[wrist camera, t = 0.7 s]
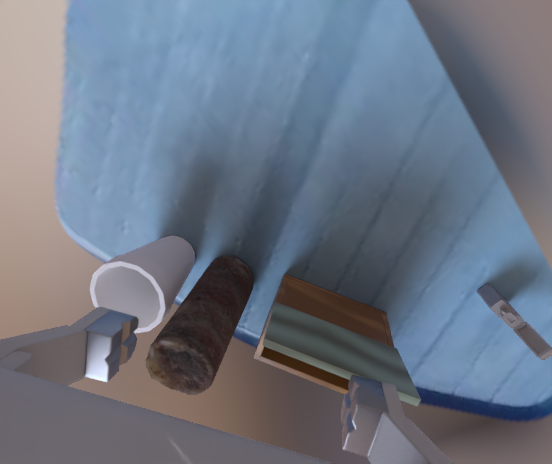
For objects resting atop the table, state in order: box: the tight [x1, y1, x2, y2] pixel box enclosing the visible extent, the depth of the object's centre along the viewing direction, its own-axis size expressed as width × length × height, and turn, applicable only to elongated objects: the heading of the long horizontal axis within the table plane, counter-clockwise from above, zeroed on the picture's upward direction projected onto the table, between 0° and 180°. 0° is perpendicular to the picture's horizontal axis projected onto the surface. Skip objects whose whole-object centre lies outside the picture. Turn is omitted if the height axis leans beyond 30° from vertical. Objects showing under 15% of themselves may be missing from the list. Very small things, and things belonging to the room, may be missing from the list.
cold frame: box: [253, 274, 394, 394], centre depth 48 cm, size 9×16×8 cm, turn 71°
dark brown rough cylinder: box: [146, 255, 253, 395], centre depth 43 cm, size 8×7×20 cm
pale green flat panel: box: [262, 302, 421, 406], centre depth 37 cm, size 10×16×1 cm
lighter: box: [477, 284, 552, 360], centre depth 43 cm, size 7×2×8 cm, turn 50°
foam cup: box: [90, 235, 195, 333], centre depth 46 cm, size 10×9×13 cm
